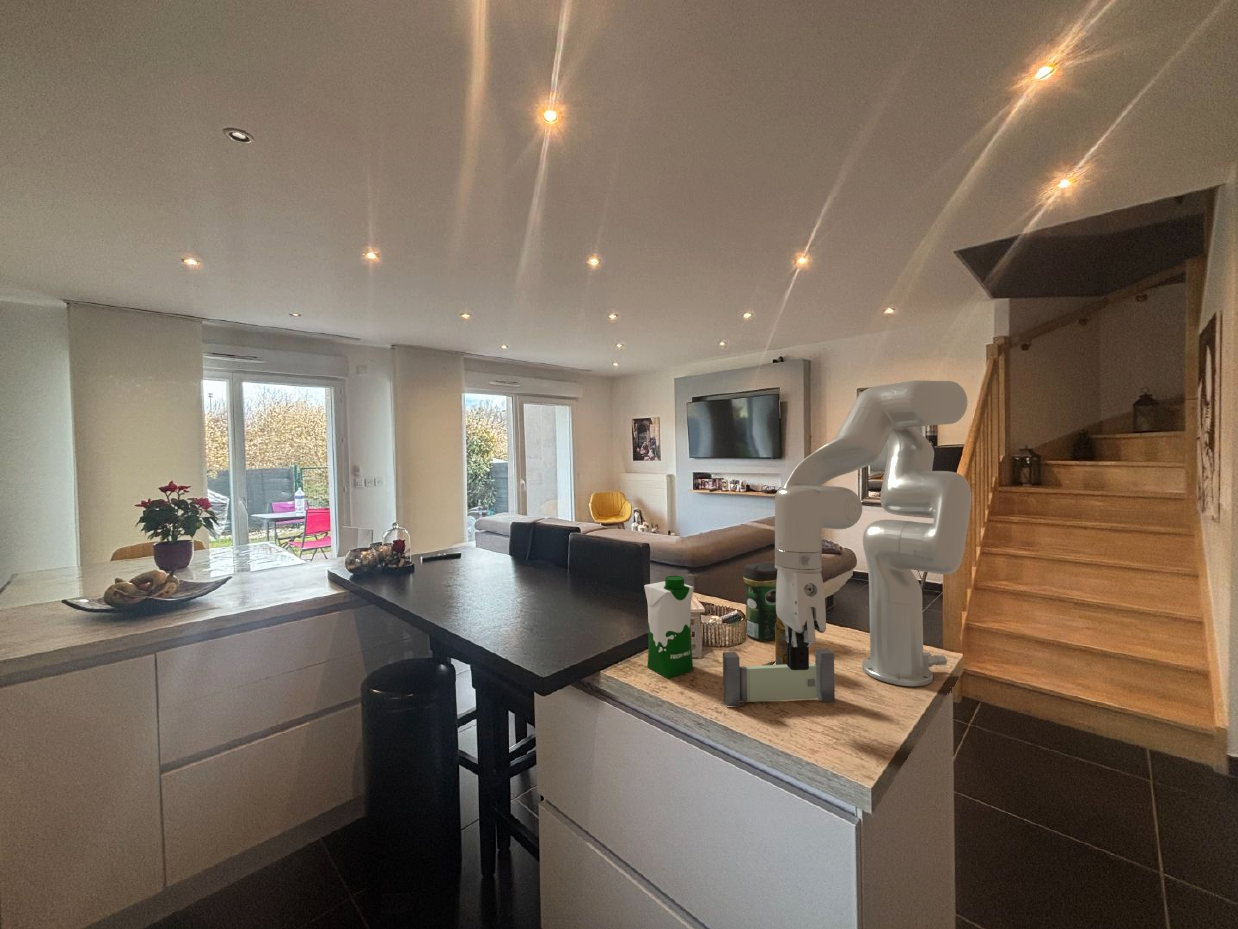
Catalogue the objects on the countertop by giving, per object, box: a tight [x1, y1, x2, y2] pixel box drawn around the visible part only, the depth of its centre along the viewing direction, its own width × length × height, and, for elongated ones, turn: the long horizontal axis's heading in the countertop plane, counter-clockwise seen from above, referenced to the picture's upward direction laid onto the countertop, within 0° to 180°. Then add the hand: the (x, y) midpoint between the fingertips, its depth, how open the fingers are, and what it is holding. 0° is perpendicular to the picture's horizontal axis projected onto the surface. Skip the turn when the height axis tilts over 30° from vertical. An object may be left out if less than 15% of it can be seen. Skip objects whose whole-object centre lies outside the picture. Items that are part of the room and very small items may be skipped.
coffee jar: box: [742, 561, 778, 642], centre depth 122 cm, size 10×8×19 cm
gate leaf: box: [740, 662, 818, 703], centre depth 89 cm, size 2×14×6 cm, turn 94°
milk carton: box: [643, 575, 695, 680], centre depth 104 cm, size 9×9×20 cm
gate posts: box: [722, 647, 836, 707], centre depth 89 cm, size 20×2×9 cm, turn 93°
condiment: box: [760, 616, 790, 666], centre depth 103 cm, size 7×8×12 cm
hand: (797, 668), depth 82 cm, fingers closed
